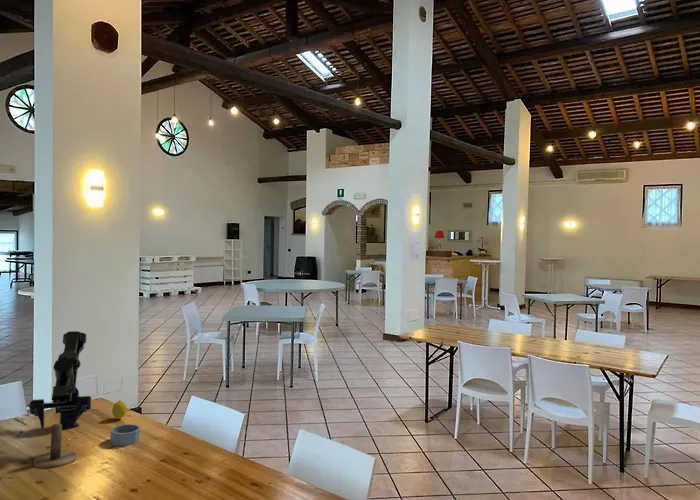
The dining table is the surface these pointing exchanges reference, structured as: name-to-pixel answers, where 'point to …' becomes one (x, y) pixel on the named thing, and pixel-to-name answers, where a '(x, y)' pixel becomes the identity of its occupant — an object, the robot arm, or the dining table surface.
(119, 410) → the lemon
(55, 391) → the robot arm
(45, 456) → the brown peg on base
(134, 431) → the bowl
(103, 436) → the dining table surface
